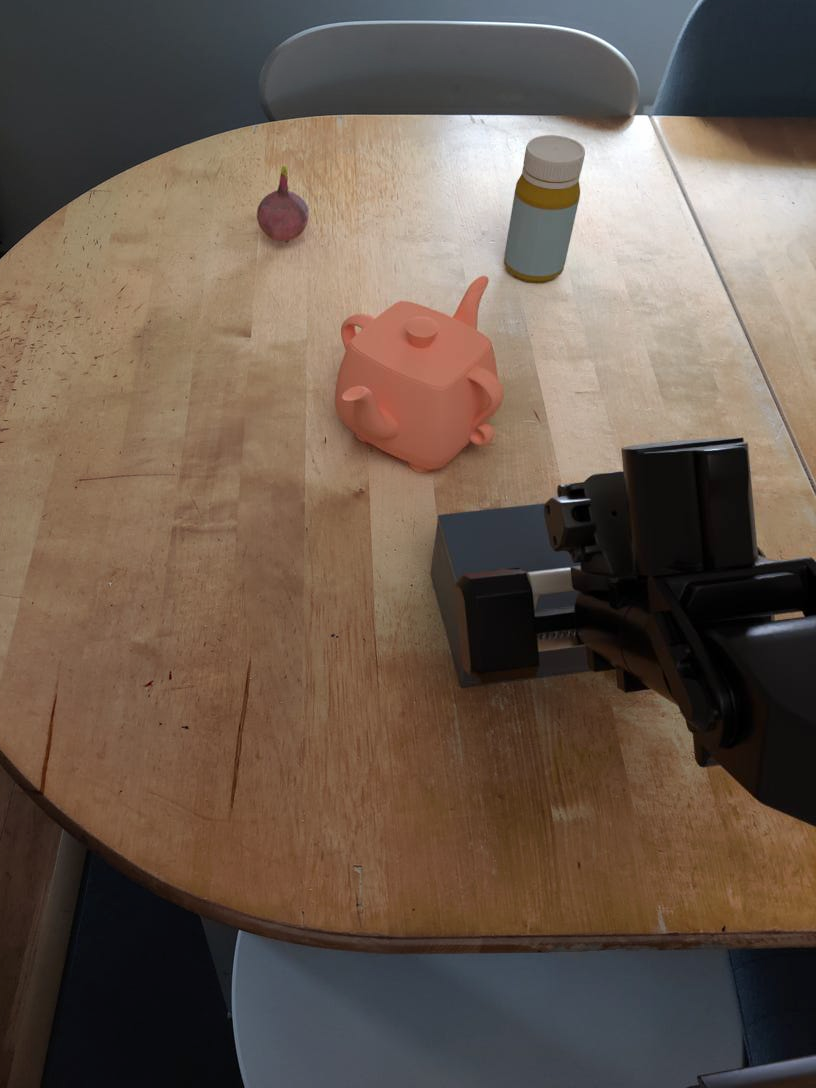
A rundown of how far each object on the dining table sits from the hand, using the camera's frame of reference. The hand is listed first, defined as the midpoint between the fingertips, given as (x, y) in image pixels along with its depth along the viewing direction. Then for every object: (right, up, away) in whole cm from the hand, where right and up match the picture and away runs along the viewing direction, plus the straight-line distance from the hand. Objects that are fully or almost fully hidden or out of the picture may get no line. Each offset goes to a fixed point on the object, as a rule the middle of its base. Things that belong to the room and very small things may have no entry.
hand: (564, 587), depth 61 cm
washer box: (0, -4, +9) cm, 10 cm away
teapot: (-8, +11, +24) cm, 28 cm away
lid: (0, +1, +4) cm, 4 cm away
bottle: (+7, +31, +43) cm, 54 cm away
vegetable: (-22, +34, +47) cm, 62 cm away
